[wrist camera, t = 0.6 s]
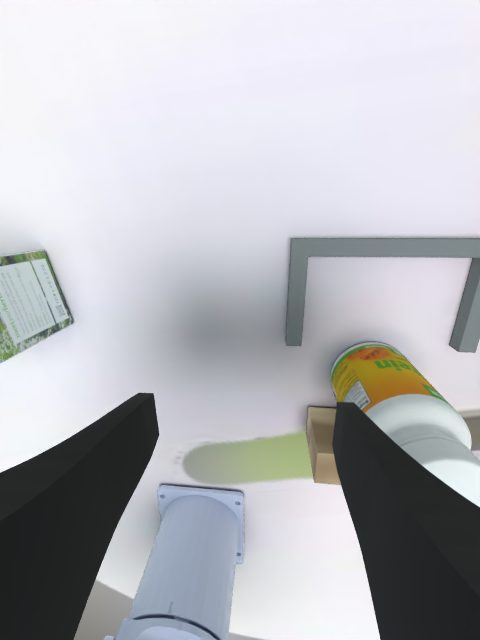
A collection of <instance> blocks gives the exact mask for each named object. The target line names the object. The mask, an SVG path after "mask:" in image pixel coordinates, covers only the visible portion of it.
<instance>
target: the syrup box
mask: <svg viewBox="0 0 480 640" xmlns="http://www.w3.org/2000/svg"><path fill="white" fill-rule="evenodd" d="M72 323H73V321H72V318H71V315H70V313H69V310H68V308H67V306H66V303H65V301H64V298H63V296H62V293H61V291H60V288H59V286H58V283H57V281H56V279H55V276H54V274H53V271H52V268H51V266H50V264H49V261H48V259H47V256H46V254H45V252H44V251H43V250H39V251H31V252H24V253H17V254H9V255H2V256H0V363H2V362H4V361H6V360H8V359H9V358H11V357H13V356H15V355H17V354H18V353H20V352H22V351H24V350H26V349H28V348H29V347H31V346H33V345H35V344H37V343H39V342H40V341H42V340H44V339H46V338H48V337H49V336H51V335H53V334H55V333H57V332H58V331H61V330H62V329H64V328H66V327H68V326H70V325H71V324H72Z"/></svg>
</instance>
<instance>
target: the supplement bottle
mask: <svg viewBox="0 0 480 640" xmlns="http://www.w3.org/2000/svg"><path fill="white" fill-rule="evenodd" d="M331 385H332V389H333V392H334V395H335V397H336V400H337V402H354V403H355V404H356V405H357V406H358V407H359V408H360V409H361V410H362V411H363V412H364V413H365V414H366V415H367V416H368V417H369V418H370V419H371V420H372V421H373V422H374V423H375V424H376V425H377V426H378V427H379V428H380V429H381V430H382V431H383V432H385V433H386V434H387V435H388V436H389V437H390V438H391V439H392V440H393V441H394V442H395V443H396V444H397V445H399V446H400V447H401V448H402V449H403V450H404V451H405V452H407V453H408V454H409V455H410V456H411V457H413V458H414V459H415V460H416V461H417V462H418V463H420V464H421V465H422V466H423V467H425V468H426V469H427V470H428V471H430V472H431V473H432V474H434V475H435V476H436V477H438V478H439V479H440V480H442V481H443V482H444V483H446V484H447V485H448V486H450V487H451V488H452V489H454V490H455V491H457V492H458V493H459V494H461V495H462V496H464V497H465V498H467V499H468V500H470V501H471V502H473V503H474V504H476V505H477V506H479V507H480V461H479V460H478V458H477V457H476V456H475V455H474V454H473V453H472V452H471V451H470V450H471V435H470V432H469V429H468V427H467V425H466V423H465V421H464V420H463V418H462V417H461V416H460V415H459V414H458V413H457V411H456V410H455V409H454V408H453V407H452V406H451V405H450V404H449V403H448V402H447V401H446V400H445V399H444V398H443V397H442V396H441V395H440V394H439V393H438V392H437V391H436V389H435V388H434V387H433V386H432V385H431V384H430V383H429V382H428V381H427V380H426V379H425V378H424V377H423V376H422V375H421V374H420V373H419V372H418V370H417V369H416V368H415V367H414V366H413V365H412V364H411V363H410V362H409V361H408V360H407V359H406V358H405V357H404V356H403V355H402V354H401V353H400V352H399V351H398V350H396V349H395V348H393V347H391V346H389V345H387V344H383V343H378V342H367V343H361V344H358V345H355V346H353V347H351V348H349V349H347V350H346V351H344V352H343V353H342V354H341V355H340V356H339V357H338V359H337V360H336V361H335V363H334V365H333V367H332V370H331Z"/></svg>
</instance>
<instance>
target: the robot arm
mask: <svg viewBox="0 0 480 640" xmlns="http://www.w3.org/2000/svg"><path fill="white" fill-rule="evenodd" d="M158 437H159V429H158V422H157V415H156V408H155V400H154V393H138V394H136V395H135V396H133V397H131V398H130V399H128V400H127V401H125V402H124V403H122V404H121V405H119V406H118V407H116V408H115V409H113V410H112V411H110V412H109V413H107V414H106V415H104V416H103V417H102V418H100V419H99V420H97V421H96V422H94V423H92V424H91V425H89V426H88V427H86V428H84V429H83V430H81V431H79V432H78V433H76V434H75V435H73V436H71V437H70V438H68V439H66V440H65V441H63V442H61V443H60V444H58V445H56V446H54V447H52V448H50V449H49V450H47V451H45V452H43V453H41V454H39V455H37V456H35V457H33V458H31V459H29V460H27V461H25V462H23V463H21V464H19V465H16V466H14V467H12V468H10V469H8V470H6V471H3V472H1V473H0V640H73V639H74V637H75V634H76V631H77V628H78V625H79V622H80V620H81V617H82V614H83V611H84V609H85V606H86V603H87V600H88V597H89V595H90V592H91V589H92V587H93V584H94V582H95V579H96V576H97V574H98V571H99V569H100V566H101V563H102V561H103V558H104V556H105V553H106V551H107V548H108V546H109V543H110V541H111V539H112V536H113V534H114V531H115V529H116V527H117V525H118V522H119V520H120V518H121V516H122V514H123V512H124V510H125V508H126V506H127V504H128V502H129V500H130V498H131V496H132V495H133V493H134V491H135V489H136V487H137V485H138V483H139V481H140V479H141V477H142V475H143V473H144V471H145V469H146V467H147V465H148V463H149V461H150V459H151V456H152V454H153V451H154V448H155V445H156V442H157V440H158ZM332 447H333V453H334V458H335V463H336V468H337V473H338V476H339V479H340V483H341V486H342V489H343V492H344V496H345V499H346V502H347V505H348V508H349V511H350V515H351V518H352V521H353V524H354V527H355V530H356V534H357V537H358V540H359V544H360V548H361V551H362V555H363V560H364V564H365V569H366V573H367V578H368V582H369V586H370V591H371V596H372V601H373V605H374V610H375V615H376V620H377V624H378V629H379V634H380V639H381V640H480V507H479V506H477V505H476V504H474V503H473V502H471V501H470V500H468V499H467V498H465V497H464V496H462V495H461V494H459V493H458V492H457V491H455V490H454V489H452V488H451V487H450V486H448V485H447V484H446V483H444V482H443V481H442V480H440V479H439V478H438V477H436V476H435V475H434V474H432V473H431V472H430V471H428V470H427V469H426V468H425V467H423V466H422V465H421V464H420V463H418V462H417V461H416V460H415V459H414V458H413V457H411V456H410V455H409V454H408V453H407V452H405V451H404V450H403V449H402V448H401V447H400V446H399V445H397V444H396V443H395V442H394V441H393V440H392V439H391V438H390V437H389V436H388V435H387V434H386V433H385V432H383V431H382V430H381V429H380V428H379V427H378V426H377V425H376V424H375V423H374V422H373V421H372V420H371V419H370V418H369V417H368V416H367V415H366V414H365V413H364V412H363V411H362V410H361V409H360V408H359V407H358V406H357V405H356V404H355V403H354V402H337V408H336V416H335V424H334V433H333V441H332ZM157 495H158V501H159V508H160V515H161V522H162V523H161V525H160V528H159V531H158V534H157V537H156V539H155V542H154V545H153V548H152V551H151V554H150V556H149V559H148V562H147V565H146V568H145V570H144V573H143V576H142V579H141V582H140V585H139V587H138V590H137V593H136V596H135V599H134V601H133V604H132V607H131V610H130V613H129V616H128V618H124V619H123V620H122V623H121V626H120V628H119V631H118V634H117V636H116V639H115V638H114V637H112V636H106V637H105V638H104V639H103V640H228V633H229V623H230V613H231V603H232V593H233V583H234V573H235V563H236V564H241V563H243V561H244V495H243V494H242V493H241V492H236V491H225V490H213V489H202V488H190V487H179V486H167V485H161V486H159V487H158V490H157Z"/></svg>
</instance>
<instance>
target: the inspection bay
mask: <svg viewBox="0 0 480 640" xmlns="http://www.w3.org/2000/svg"><path fill="white" fill-rule="evenodd" d="M308 256H322V257H456V258H473V261H472V264H471V268H470V272H469V275H468V279H467V283H466V286H465V290H464V294H463V297H462V301H461V305H460V308H459V312H458V316H457V319H456V323H455V327H454V330H453V334H452V338H451V341H450V345H449V346H451V347H452V348H454V349H455V350H456V351H458V352H472V353H475V352H476V348H477V345H478V342H479V339H480V238H291V251H290V269H289V287H288V306H287V324H286V346H301V343H302V330H303V317H304V304H305V290H306V277H307V264H308Z"/></svg>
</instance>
